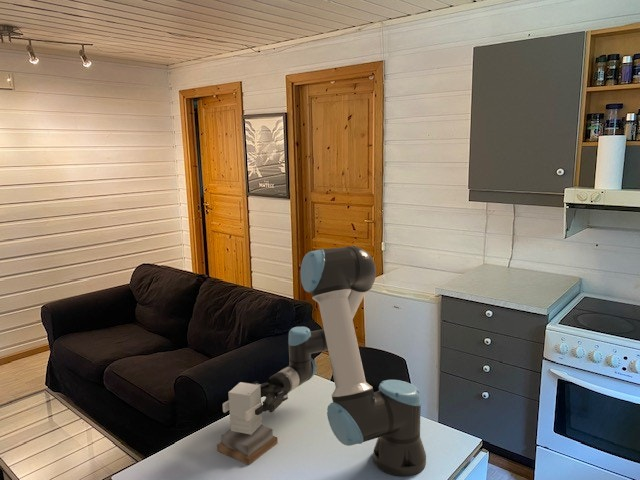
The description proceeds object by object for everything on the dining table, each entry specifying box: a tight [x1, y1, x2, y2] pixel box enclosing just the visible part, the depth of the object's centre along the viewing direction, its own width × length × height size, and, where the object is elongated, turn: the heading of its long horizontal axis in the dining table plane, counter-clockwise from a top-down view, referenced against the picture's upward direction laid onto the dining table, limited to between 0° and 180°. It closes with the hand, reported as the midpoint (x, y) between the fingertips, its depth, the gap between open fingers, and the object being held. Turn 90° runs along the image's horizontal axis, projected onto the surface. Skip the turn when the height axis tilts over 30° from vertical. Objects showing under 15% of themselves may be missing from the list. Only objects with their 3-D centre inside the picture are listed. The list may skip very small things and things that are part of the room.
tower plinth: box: [216, 424, 278, 466], centre depth 149 cm, size 13×13×5 cm
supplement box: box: [227, 381, 263, 435], centre depth 147 cm, size 7×7×13 cm
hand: (234, 412), depth 143 cm, fingers closed on supplement box, 8 cm apart
